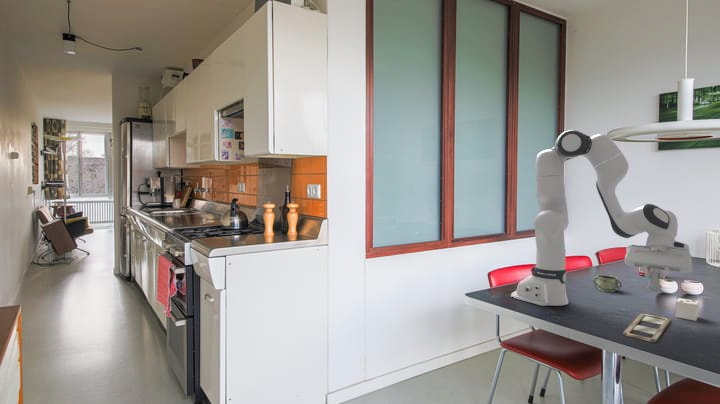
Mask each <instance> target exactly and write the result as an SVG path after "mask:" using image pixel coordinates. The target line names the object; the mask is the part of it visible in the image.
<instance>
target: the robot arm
mask: <svg viewBox="0 0 720 404" xmlns="http://www.w3.org/2000/svg"><path fill="white" fill-rule="evenodd" d="M579 156H583V157H584V158H586V159H587V160H588V161H589V163H590V164H591V166H592V168H593V169H594V170H595V174H596V177H597V180H596V182H595V186H596V190H597V193H598V195H599V197H600V200H601V202H602V205H603V207H604V209H605V211H606V213H607V216H608V219H609V222H610V226H611V229H612V231H613V232H614V233H615V235H617V236H619V237H621V238H624V239H629V238H630V239H631V238H632V237H634V236H636V235H639V234H643V233H647V234H648V235H647V237H646V242H645V245H641V244H640V245H637V244H631V245H628V246H627V247H626V248H625V249H626V250H625V252H626V254H625V256H624V264H625V265H626V266H627V267H631V268H638V267H640V268H643V270H644V272H645V276H644V277H645V278H650V279H651V275H650V274H651V272H649V271H648V269H651V268H654V269H655V268H657V269H658V268H659V269H660V271H663V272H660V273H659V280H664V281H665V280H666V277H667V276H668V275H669V274H670V272H675V273H682V274H690V273H692V272H693V262H692V261H693V260H692V255H691V252H690V247H689V245H688V244H687V243H683V242H680V241H677V240H676V237H677V234H678V227H679V226H678V225H679V223H678V218H677V216H676V215H675V213H674V212H672V211H670V210H667V209H663V208H661V207H659V206H658V205H655V204H652V203H646V204H643V205H640V206H637V207H635V208H632V209H630V210H627V211H624V210H623V208H622V206H621V204H620V202H619V199H618V197H617V195H616V189H617V186H618V185H619V183H620V182H621V181H622V180H623V179H625V177H626V176H627V174H628V170H629V163H628V162H629V161H628V159H627V158H626V157H625V155H624V153H623V152H622V151H621V149H620V148H619V146H618V145H617V144H616V143H615V142H614V141H613V140H612V138H610V137H609V136H608V135H606V134H604V133H598V134H595V135H593V136H592V135H591V136H589V135H587V134H586V133H583V132H581V131H579V130H575V129H570V130H565V131H563V132H562V133H561V134H560V135H558V137H557V138H556V140H555V142H554V146H553V147H552V148H549V149H544V150H542V151H540V152H539V153H538V154H537V155H536V159H535V165H534V166H535V167H534V177H535V196H536V199H537V204H538V210H539V212H538V214H537V215H536V216H535V219H534V222H533V227H534V237H535V239H534V240H535V244H536V245H535V246H536V261H535V263H536V264H535V265H534V266H533V267H531V268H530V270H529V271H530V272H531V274H530V275H528V276H527V277H525V278H523V279H522V280H520V281H519V282H518V283H517V287H516V290H515V291H513V292H511V294H510V297H511V298H512V297H513V299H516V300H520V301H524V302H528V303H531V304H533V305H534V304H535V305H538V306H542V307H545V306H547V307H548V306H566V305H568V304H569V299H568V297H567V291H566V289H567V288H566V283H567V269H566V252H567V251H566V247H565V245H566V244H565V230H566V229H567V228H568V226H569V213H568V212H569V211H568V206H567V205H568V203H567V198H566V190H565V189H566V188H565V186H566V185H565V170H564V169H565V168H564V167H565V164H566V163H565V162H566V161H569V160H571V159H575V158H578V157H579Z"/></svg>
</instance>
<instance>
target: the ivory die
mask: <svg viewBox="0 0 720 404" xmlns="http://www.w3.org/2000/svg"><path fill="white" fill-rule="evenodd" d="M699 302H700V301H698V300H693V299H687V298H681V297H678V298H677V299H676V301H675V318H678V319H679V318H680V319H683V320H684V319H685V320H689V321H695V322H697V320H698V319H699V305H700V303H699Z"/></svg>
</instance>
